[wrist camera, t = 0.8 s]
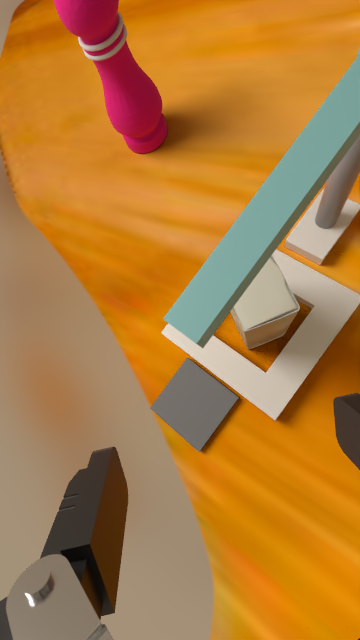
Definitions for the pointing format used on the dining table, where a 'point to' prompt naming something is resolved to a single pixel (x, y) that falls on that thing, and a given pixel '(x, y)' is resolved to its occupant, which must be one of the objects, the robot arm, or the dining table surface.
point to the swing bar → (270, 213)
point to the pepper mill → (117, 71)
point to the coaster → (194, 404)
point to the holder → (308, 288)
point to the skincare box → (265, 307)
